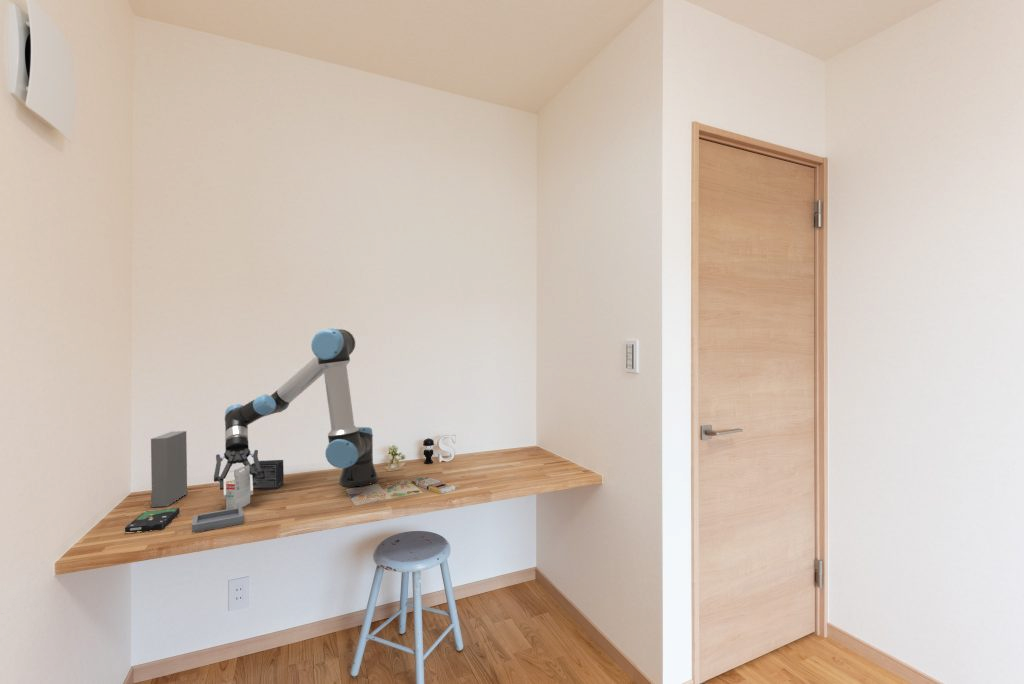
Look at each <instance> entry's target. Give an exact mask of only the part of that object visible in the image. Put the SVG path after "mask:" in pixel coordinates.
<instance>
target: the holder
mask: <svg viewBox="0 0 1024 684" xmlns="http://www.w3.org/2000/svg"><path fill="white" fill-rule="evenodd" d="M237 524H238V525H243V524H244V511H243V508H242V507H238V508H233V509H227V510H226V509H222V510H215V511H211V512H204V513H199V514H194V515H193V517H192V524H191V530H192V531H191V533H192V534H194V533H193V532H196V533H200V532H199V531H201V532H205V530H207V531H211V529H212V530H216V529H221V528H226V527H227V526H228V527H231V526H232V525H233V526H237ZM233 526H232V527H233Z"/></svg>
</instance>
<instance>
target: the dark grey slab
mask: <svg viewBox="0 0 1024 684" xmlns="http://www.w3.org/2000/svg"><path fill="white" fill-rule="evenodd" d="M187 449H188V447H187V431H186V430H181V431H180V430H179V431H177V430H176V431H170V432H166V433H164V434H160V435H157V436H156V437H152V438H150V459H151V461H150V463H151V464H150V465H151V471H150V472H151V475H150V476H151V494H150V502H151V503H149V508H151V507H153V508H157V507H158V508H159V507H161V508H162V507H165V506H167V507H169V506H170V505H172V504H173V502H174V503H175V502H177V501H179V500H180V499H181V497H182V496H183V497H185V496H186V495H185V494H187V493H189V492H188V468H187V467H188V462H187V461H188V460H187V459H188V458H187V453H188V452H187ZM184 495H185V496H184ZM187 495H188V494H187ZM183 497H182V498H183ZM179 498H180V499H179ZM176 500H177V501H176Z"/></svg>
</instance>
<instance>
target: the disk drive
mask: <svg viewBox="0 0 1024 684" xmlns="http://www.w3.org/2000/svg"><path fill="white" fill-rule="evenodd" d="M178 514H179V515H180V507H172V508H164V509H163V508H162V509H158V510H156V509H155V510H146V511H144V512H143V513H141V514H139V515H138V516H137V517H136V518H135V519H134V520H133V521H131V522H130V523H128V524H127V525H126V526H125V528H124V532H137V531H148V532H151V531H150V530H157V531H163V530H164V529H165V527H166V526H167V527H168V526H169V524H171V523H172V522H173V521H174V520H175V519H176V518H178V516H179V515H178ZM177 515H178V516H177ZM175 517H176V518H175ZM174 518H175V519H174ZM173 519H174V520H173ZM172 520H173V521H172ZM167 527H166V528H167ZM162 529H163V530H162Z"/></svg>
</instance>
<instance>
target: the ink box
mask: <svg viewBox="0 0 1024 684" xmlns="http://www.w3.org/2000/svg"><path fill="white" fill-rule="evenodd" d="M233 472H234V473H233V474H234V475H233V476H234V480H232V481H230V482H226V499H225V501H226V503H225V506H226V507H225V510H227V509H233V508H238V507H242V509H243V508H244V507H247V506H248V505H250V504H251V495H250V467H249V465H247V466H245V465H244V466H242V467H240V468H236V469H234V471H233Z"/></svg>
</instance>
